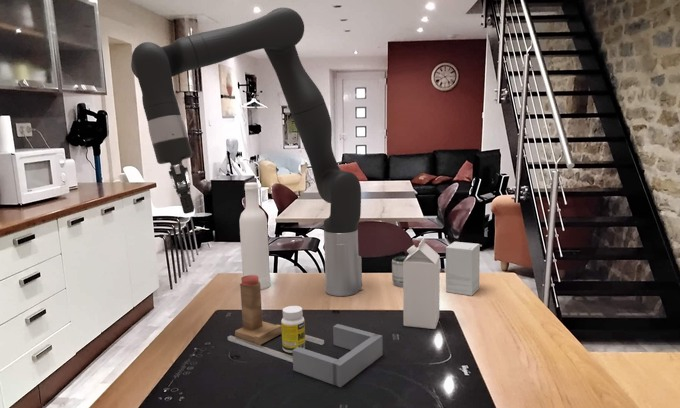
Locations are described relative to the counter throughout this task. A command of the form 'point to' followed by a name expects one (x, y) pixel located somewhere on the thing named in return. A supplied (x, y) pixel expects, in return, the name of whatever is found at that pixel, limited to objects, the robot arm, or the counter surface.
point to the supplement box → (462, 268)
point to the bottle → (254, 238)
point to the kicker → (254, 314)
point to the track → (271, 351)
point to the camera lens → (398, 270)
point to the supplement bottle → (293, 328)
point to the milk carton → (421, 287)
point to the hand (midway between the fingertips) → (189, 211)
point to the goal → (346, 367)
